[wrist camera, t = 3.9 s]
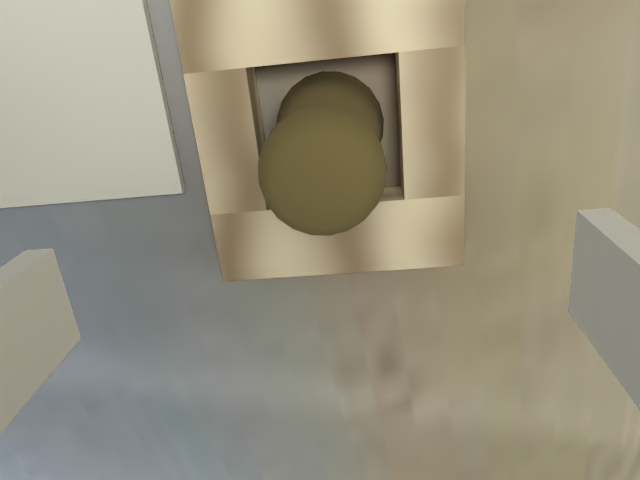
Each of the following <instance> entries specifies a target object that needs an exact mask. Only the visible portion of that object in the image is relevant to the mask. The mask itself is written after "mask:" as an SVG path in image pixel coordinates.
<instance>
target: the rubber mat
mask: <svg viewBox="0 0 640 480" xmlns="http://www.w3.org/2000/svg"><path fill="white" fill-rule="evenodd" d="M184 191H185V186H184V181H183V176H182V171H181V167H180V162H179V157H178V152H177V147H176V142H175V138H174V133H173V128H172V123H171V118H170V113H169V109H168V104H167V99H166V94H165V89H164V84H163V80H162V75H161V70H160V65H159V60H158V55H157V51H156V46H155V41H154V36H153V31H152V26H151V22H150V17H149V12H148V7H147V2H146V0H0V208H9V207H21V206H33V205H46V204H58V203H70V202H83V201H95V200H107V199H120V198H132V197H144V196H157V195H169V194H181V193H183V192H184Z"/></svg>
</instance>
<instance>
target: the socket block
mask: <svg viewBox="0 0 640 480" xmlns="http://www.w3.org/2000/svg"><path fill="white" fill-rule="evenodd" d="M169 2H170V7H171V12H172V18H173V23H174V28H175V33H176V38H177V44H178V49H179V54H180V59H181V65H182V70H183V75H184V80H185V85H186V91H187V96H188V101H189V106H190V112H191V117H192V122H193V127H194V132H195V138H196V143H197V148H198V153H199V159H200V164H201V169H202V174H203V179H204V185H205V190H206V195H207V200H208V206H209V211H210V216H211V221H212V226H213V232H214V237H215V242H216V247H217V252H218V258H219V263H220V268H221V273H222V279H223V281H236V280H251V279H266V278H281V277H297V276H312V275H327V274H342V273H357V272H372V271H388V270H403V269H418V268H433V267H448V266H463V265H464V249H465V48H466V0H169ZM386 53H395V65H396V88H397V111H398V134H399V157H400V180H401V186H393V187H385V188H384V191H383V193H382V196H381V198H380V201H379V203H378V205H377V206H376V207H375V208H374V210H373V211H372V212H371V213H370V214H369V216H368V217H367V218H366V219H365V220H364V221H363V222H361V223H360V224H358V225H357V226H355V227H353V228H352V229H350V230H349V231H346V232H342V233H338V234H335V235H331V236H323V235H309V234H306V233H303V232H300V231H297V230H294V229H292V228H291V227H289V226H288V225H286V224H285V223H284V222H282V221H281V220H279V219H278V218H277V217H276V216H275V214H274V213H273V212H272V210H271V209H270V208H269V207H268V205H267V204H266V202H265V199H264V196H263V194H262V191H261V188H260V186H259V181H258V160H259V157H260V153H261V150H262V147H263V144H264V142H265V139H264V131H263V124H262V117H261V110H260V103H259V96H258V89H257V82H256V75H255V68H254V67H258V66H268V65H277V64H287V63H297V62H307V61H317V60H327V59H337V58H347V57H356V56H366V55H376V54H386Z"/></svg>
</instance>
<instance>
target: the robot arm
mask: <svg viewBox="0 0 640 480" xmlns="http://www.w3.org/2000/svg"><path fill="white" fill-rule="evenodd" d="M568 312H569V313H570V315H571V316H572V318H573V319H574V320H575V322H576V323H577V324H578V326H579V327H580V329H581V330H582V331H583V333H584V334H585V335H586V337H587V338H588V340H589V341H590V342H591V344H592V345H593V346H594V348H595V349H596V351H597V352H598V353H599V355H600V356H601V357H602V359H603V360H604V362H605V363H606V364H607V366H608V367H609V368H610V370H611V371H612V373H613V374H614V375H615V377H616V378H617V379H618V381H619V382H620V384H621V385H622V386H623V388H624V389H625V390H626V392H627V393H628V395H629V396H630V397H631V399H632V400H633V401H634V403H635V404H636V406H637V407H638V408H639V410H640V230H639V229H638V228H637V227H635V226H634V225H633V224H631V223H630V222H629V221H627V220H626V219H625V218H623V217H622V216H621V215H619V214H618V213H617V212H615V211H614V210H613V209H611V208H603V209H589V210H577V214H576V226H575V237H574V249H573V260H572V272H571V283H570V295H569V306H568ZM80 339H81V336H80V333H79V330H78V326H77V323H76V320H75V317H74V314H73V311H72V307H71V304H70V301H69V298H68V295H67V292H66V288H65V285H64V282H63V279H62V276H61V272H60V269H59V266H58V263H57V260H56V257H55V253H54V250H53V248H49V249H35V250H25V251H23V252H22V253H20V254H19V255H18V256H16V257H15V258H13V259H12V260H11V261H9V262H8V263H6V264H5V265H4V266H2V267H1V268H0V434H1V433H2V432H3V431H4V429H5V428H6V427H7V426H8V425H9V424H10V422H11V421H12V420H13V419H14V418H15V416H16V415H17V414H18V413H19V412H20V410H21V409H22V408H23V407H24V406H25V405H26V403H27V402H28V401H29V400H30V399H31V397H32V396H33V395H34V394H35V393H36V392H37V390H38V389H39V388H40V387H41V386H42V384H43V383H44V382H45V381H46V380H47V379H48V377H49V376H50V375H51V374H52V373H53V371H54V370H55V369H56V368H57V367H58V366H59V364H60V363H61V362H62V361H63V360H64V358H65V357H66V356H67V355H68V354H69V352H70V351H71V350H72V349H73V348H74V347H75V345H76V344H77V343H78V342H79V341H80Z"/></svg>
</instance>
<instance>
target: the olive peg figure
mask: <svg viewBox="0 0 640 480" xmlns="http://www.w3.org/2000/svg"><path fill="white" fill-rule="evenodd" d="M383 123H384V119H383V115H382V111H381V107H380V104H379V102H378V100H377V99H376V97H375V96H374V94H373V92H372V91H371V89H370V88H369V87H367V86H366V85H365V84H364V83H362V82H361V81H360V80H359V79H357V78H356V77H353V76H350V75H347V74H345V73H342V72H324V71H322V72H319V73H316V74H313V75H310V76H307V77H305V78H303V79H302V80H301V81H299V82H298V83H297V84H295V85H294V86H293V87H292V88H291V89H290V91H289V92H288V93H287V95H286V96H285V98H284V99H283V101H282V103H281V106H280V110H279V113H278V116H277V125H276V127H275V128H274V129H273V131H272V132H271V134H270V135H269V136H268V138H267V139H266V141H265V142H264V144H263V147H262V150H261V153H260V157H259V160H258V181H259V186H260V188H261V191H262V194H263V196H264V199H265V202H266V204H267V205H268V207H269V208H270V209H271V210H272V212H273V213H274V214H275V216H276V217H277V218H278V219H279V220H281V221H282V222H284V223H285V224H286V225H288V226H289V227H291V228H292V229H294V230H297V231H300V232H303V233H306V234H309V235H323V236H331V235H335V234H338V233H342V232H346V231H349V230H350V229H352V228H353V227H355V226H357V225H358V224H360V223H361V222H363V221H364V220H365V219H366V218H367V217H368V216H369V214H370V213H371V212H372V211H373V210H374V208H375V207H376V206H377V205H378V203H379V201H380V198H381V196H382V193H383V191H384V188H385V186H386V171H387V164H386V161H385V157H384V153H383V150H382V146H381V143H380V142H381V140H382V137H383Z"/></svg>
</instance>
